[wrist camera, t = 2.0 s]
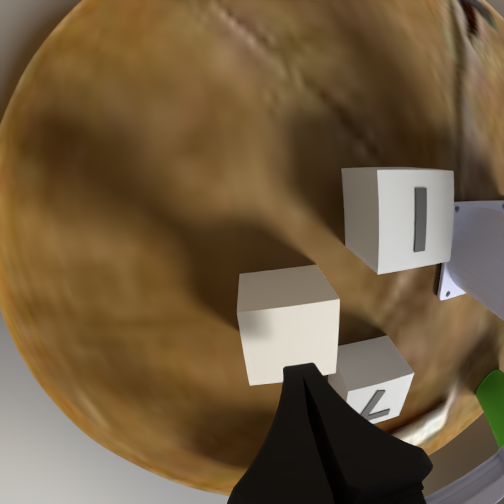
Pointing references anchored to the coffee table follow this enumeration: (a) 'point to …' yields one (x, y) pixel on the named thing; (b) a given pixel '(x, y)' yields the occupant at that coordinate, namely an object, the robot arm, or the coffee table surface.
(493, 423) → the cup
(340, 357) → the white marked cube 7
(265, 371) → the cream block
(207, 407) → the coffee table surface
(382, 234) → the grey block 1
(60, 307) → the coffee table surface
